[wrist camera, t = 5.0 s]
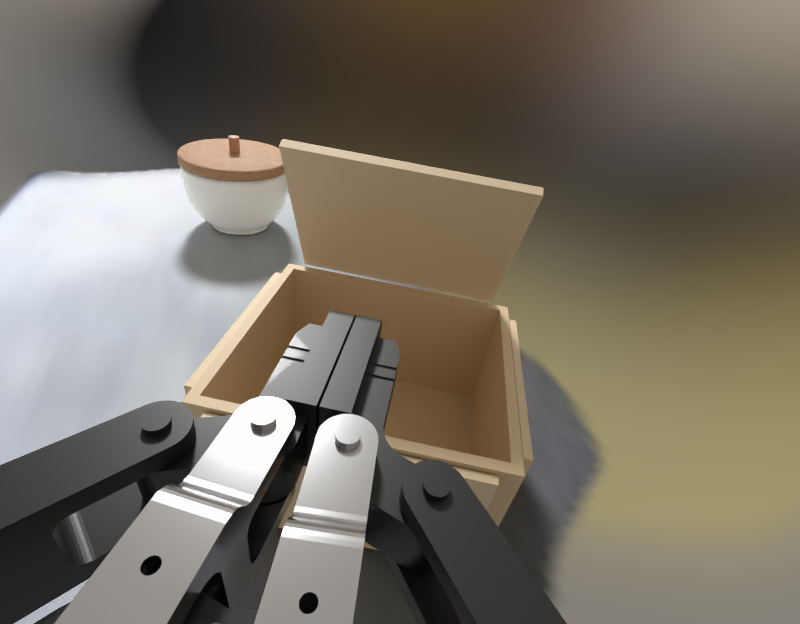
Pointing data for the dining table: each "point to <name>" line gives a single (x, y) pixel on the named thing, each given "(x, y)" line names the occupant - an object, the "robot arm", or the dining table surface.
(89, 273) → the dining table surface
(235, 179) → the lidded jar
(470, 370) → the carton
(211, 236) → the dining table surface
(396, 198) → the flap
